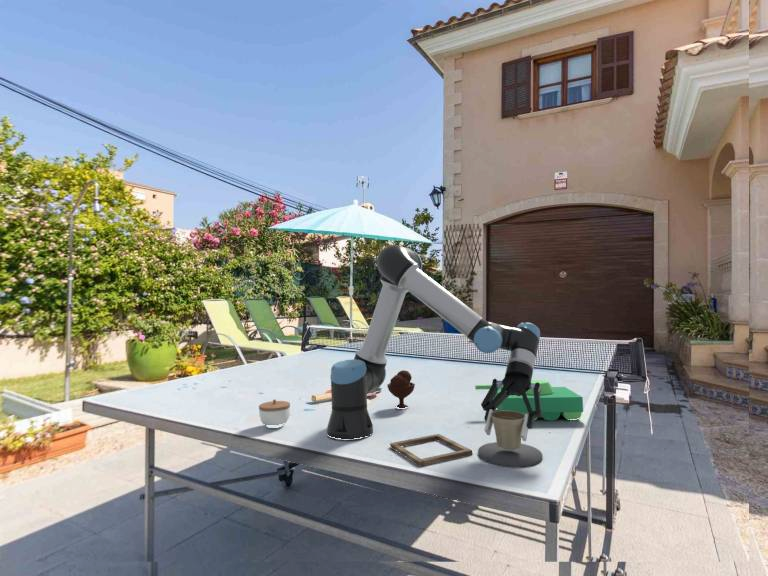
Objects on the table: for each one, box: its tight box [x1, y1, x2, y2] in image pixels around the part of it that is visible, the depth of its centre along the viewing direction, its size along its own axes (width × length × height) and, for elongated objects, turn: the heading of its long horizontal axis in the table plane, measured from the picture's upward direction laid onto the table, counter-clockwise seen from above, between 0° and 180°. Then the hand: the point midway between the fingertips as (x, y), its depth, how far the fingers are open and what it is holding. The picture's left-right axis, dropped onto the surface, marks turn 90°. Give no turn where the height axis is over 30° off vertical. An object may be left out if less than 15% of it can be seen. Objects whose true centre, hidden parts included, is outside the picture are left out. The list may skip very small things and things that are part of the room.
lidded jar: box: [258, 399, 291, 426], centre depth 153 cm, size 11×11×9 cm
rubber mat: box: [477, 441, 543, 468], centre depth 119 cm, size 17×17×1 cm
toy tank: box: [475, 379, 584, 421], centre depth 158 cm, size 18×12×35 cm
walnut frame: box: [389, 433, 473, 467], centre depth 124 cm, size 17×17×1 cm
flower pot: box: [491, 410, 525, 450], centre depth 119 cm, size 9×9×9 cm
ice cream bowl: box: [386, 369, 416, 408], centre depth 173 cm, size 11×11×15 cm
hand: (504, 435), depth 116 cm, fingers closed on flower pot, 9 cm apart
